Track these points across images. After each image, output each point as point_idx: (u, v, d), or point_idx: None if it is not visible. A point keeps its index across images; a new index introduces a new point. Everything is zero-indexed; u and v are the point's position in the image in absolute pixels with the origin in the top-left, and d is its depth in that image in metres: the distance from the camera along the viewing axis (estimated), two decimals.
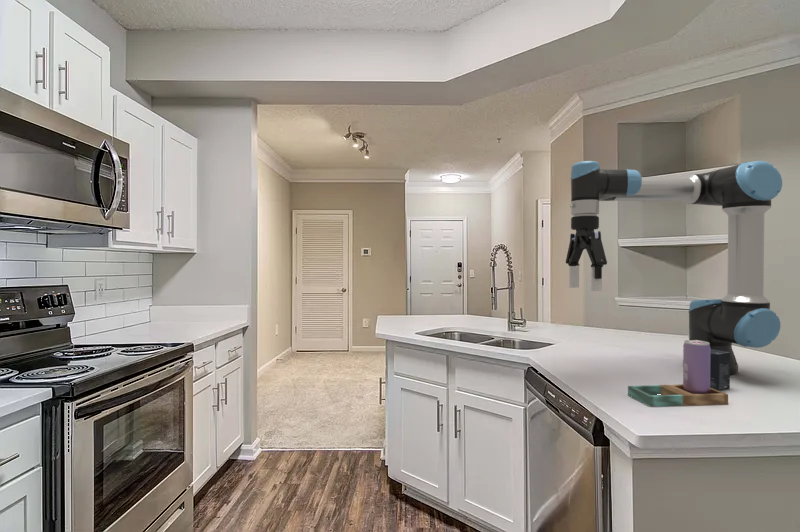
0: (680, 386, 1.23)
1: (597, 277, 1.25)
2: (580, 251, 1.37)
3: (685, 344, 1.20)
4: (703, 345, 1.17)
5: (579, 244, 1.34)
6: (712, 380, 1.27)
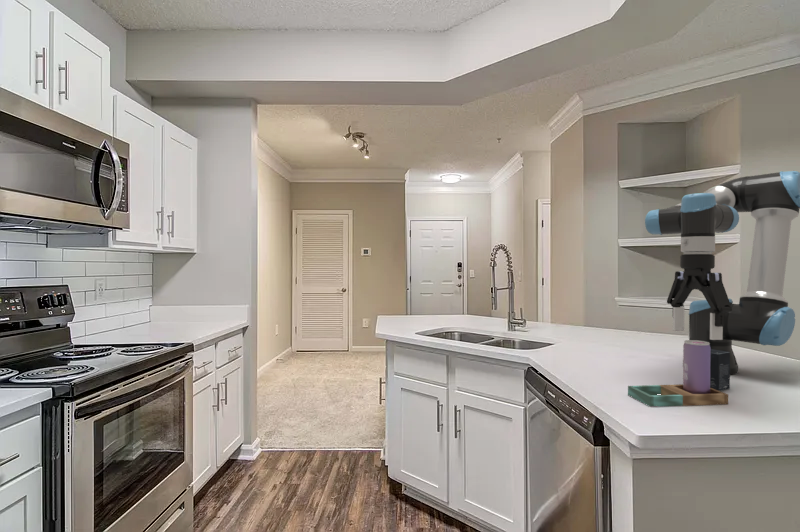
0: (680, 386, 1.23)
1: (719, 325, 1.11)
2: (688, 291, 1.23)
3: (685, 344, 1.20)
4: (703, 345, 1.17)
5: (690, 285, 1.20)
6: (712, 380, 1.27)
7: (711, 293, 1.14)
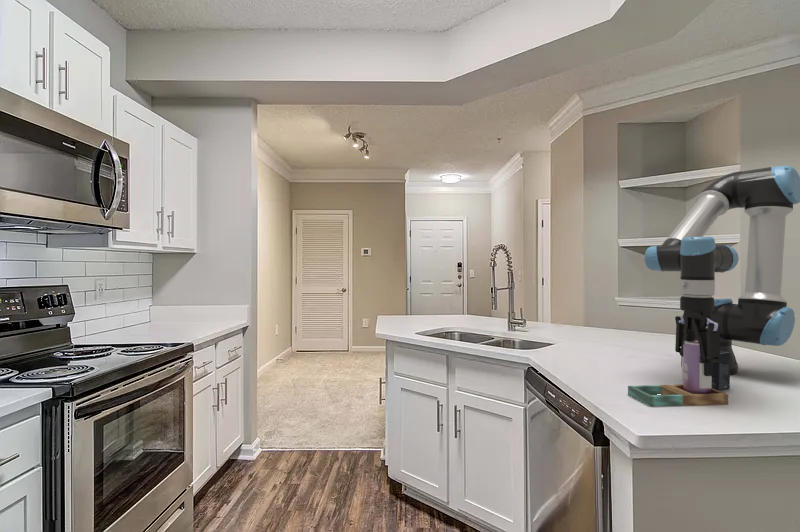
0: (680, 386, 1.23)
1: (708, 374, 1.15)
2: (693, 336, 1.21)
3: (685, 344, 1.20)
4: None
5: (689, 327, 1.20)
6: (712, 380, 1.27)
7: (706, 341, 1.16)
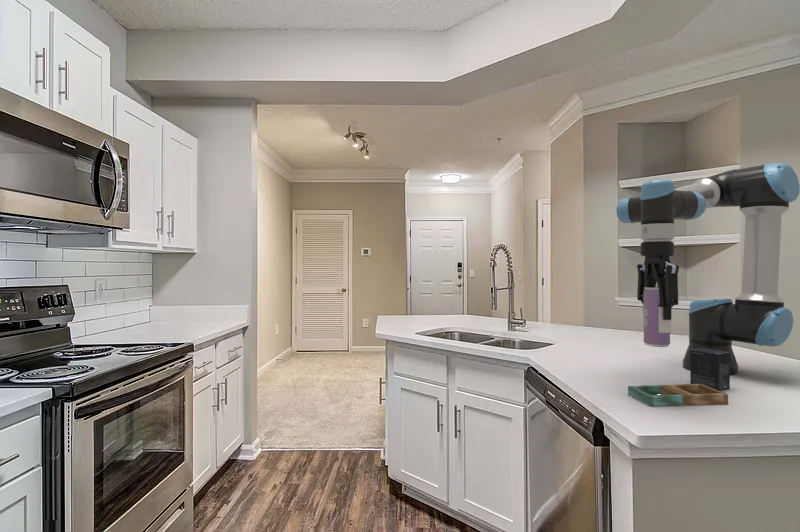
0: (680, 386, 1.23)
1: (666, 318, 1.14)
2: (653, 282, 1.20)
3: (645, 290, 1.18)
4: None
5: (650, 272, 1.19)
6: (712, 380, 1.27)
7: (665, 285, 1.15)
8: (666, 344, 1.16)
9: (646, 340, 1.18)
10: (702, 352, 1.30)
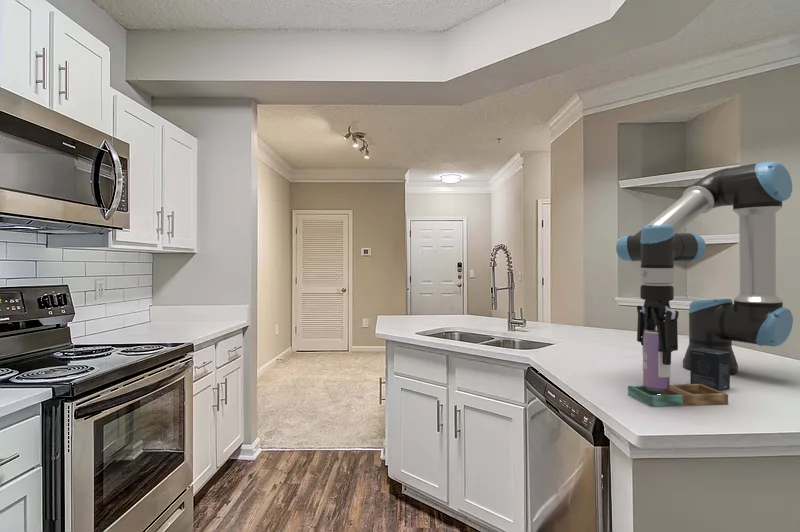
0: (680, 386, 1.23)
1: (666, 363, 1.14)
2: (653, 325, 1.21)
3: (645, 333, 1.19)
4: None
5: (650, 315, 1.19)
6: (712, 380, 1.27)
7: (664, 330, 1.15)
8: (665, 388, 1.16)
9: (645, 383, 1.18)
10: (702, 352, 1.30)
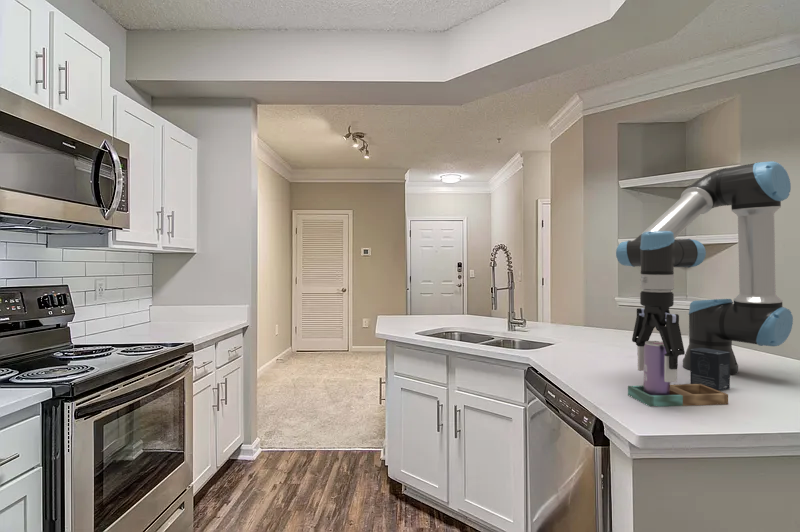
0: (680, 386, 1.23)
1: (672, 368, 1.12)
2: (650, 329, 1.22)
3: (645, 345, 1.19)
4: (662, 346, 1.16)
5: (650, 322, 1.19)
6: (712, 380, 1.27)
7: (667, 334, 1.14)
8: None
9: None
10: (702, 352, 1.30)
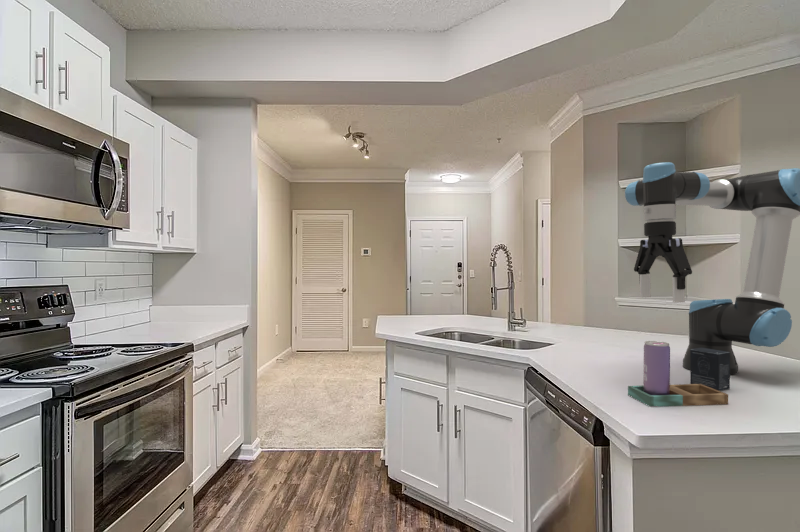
0: (680, 386, 1.23)
1: (680, 288, 1.16)
2: (653, 258, 1.28)
3: (645, 345, 1.19)
4: (662, 346, 1.16)
5: (654, 251, 1.25)
6: (712, 380, 1.27)
7: (673, 258, 1.19)
8: None
9: None
10: (702, 352, 1.30)
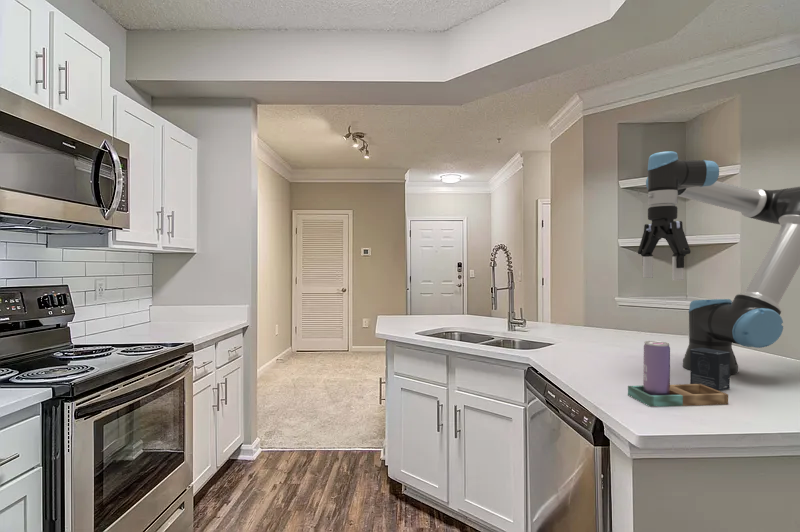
0: (680, 386, 1.23)
1: (679, 266, 1.26)
2: (655, 241, 1.38)
3: (645, 345, 1.19)
4: (662, 346, 1.16)
5: (656, 234, 1.35)
6: (712, 380, 1.27)
7: (673, 239, 1.29)
8: None
9: None
10: (702, 352, 1.30)
